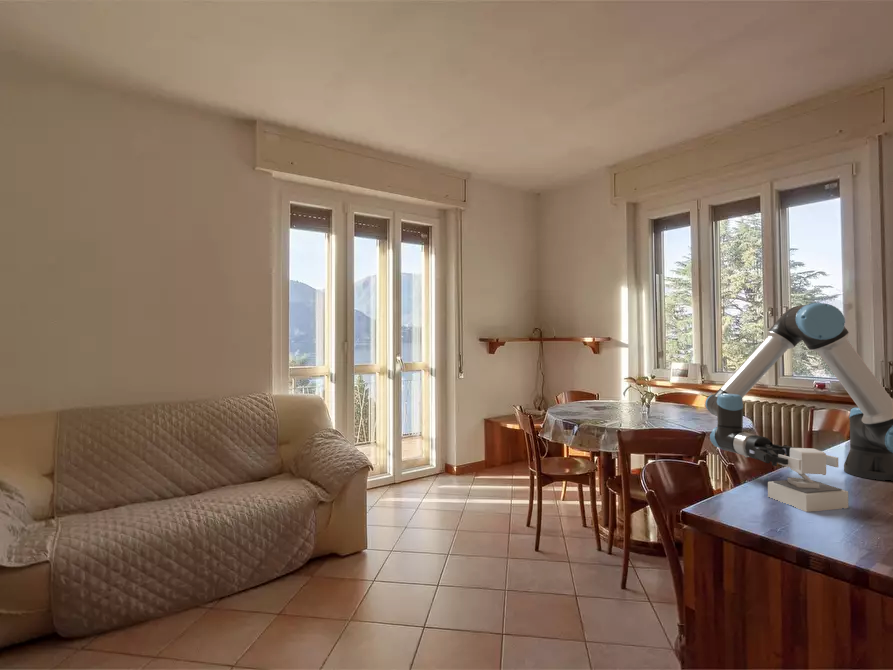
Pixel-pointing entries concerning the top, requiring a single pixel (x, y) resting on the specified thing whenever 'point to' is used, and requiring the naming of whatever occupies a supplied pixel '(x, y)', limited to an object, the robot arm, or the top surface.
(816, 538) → the top surface
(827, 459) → the robot arm
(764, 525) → the top surface
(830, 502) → the cream gray-topped block
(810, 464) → the security camera
